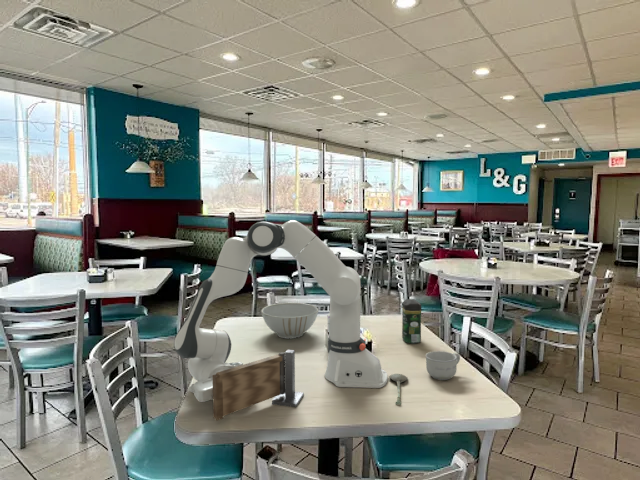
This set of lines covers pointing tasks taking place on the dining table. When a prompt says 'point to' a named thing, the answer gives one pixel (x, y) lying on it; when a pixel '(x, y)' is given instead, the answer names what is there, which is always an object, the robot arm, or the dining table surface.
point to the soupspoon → (398, 384)
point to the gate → (248, 385)
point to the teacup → (442, 364)
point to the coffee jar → (411, 321)
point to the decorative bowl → (289, 318)
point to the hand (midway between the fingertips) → (239, 393)
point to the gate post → (289, 383)
